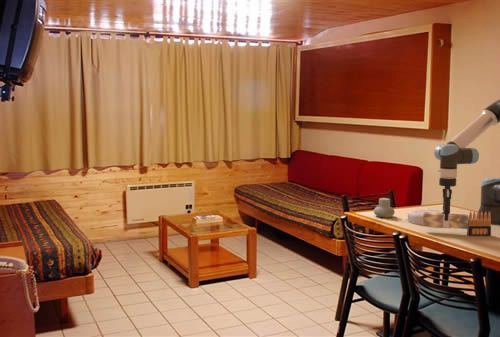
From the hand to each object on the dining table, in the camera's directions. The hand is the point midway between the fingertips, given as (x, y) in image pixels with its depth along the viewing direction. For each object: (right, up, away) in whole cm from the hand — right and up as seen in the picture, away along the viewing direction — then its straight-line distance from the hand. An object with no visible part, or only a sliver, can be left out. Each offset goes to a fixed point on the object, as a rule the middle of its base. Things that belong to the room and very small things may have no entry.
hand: (445, 225), depth 260 cm
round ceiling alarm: (0, -1, +26) cm, 26 cm away
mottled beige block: (0, 0, 0) cm, 0 cm away
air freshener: (-20, +1, +38) cm, 43 cm away
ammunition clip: (+14, -5, -3) cm, 15 cm away
